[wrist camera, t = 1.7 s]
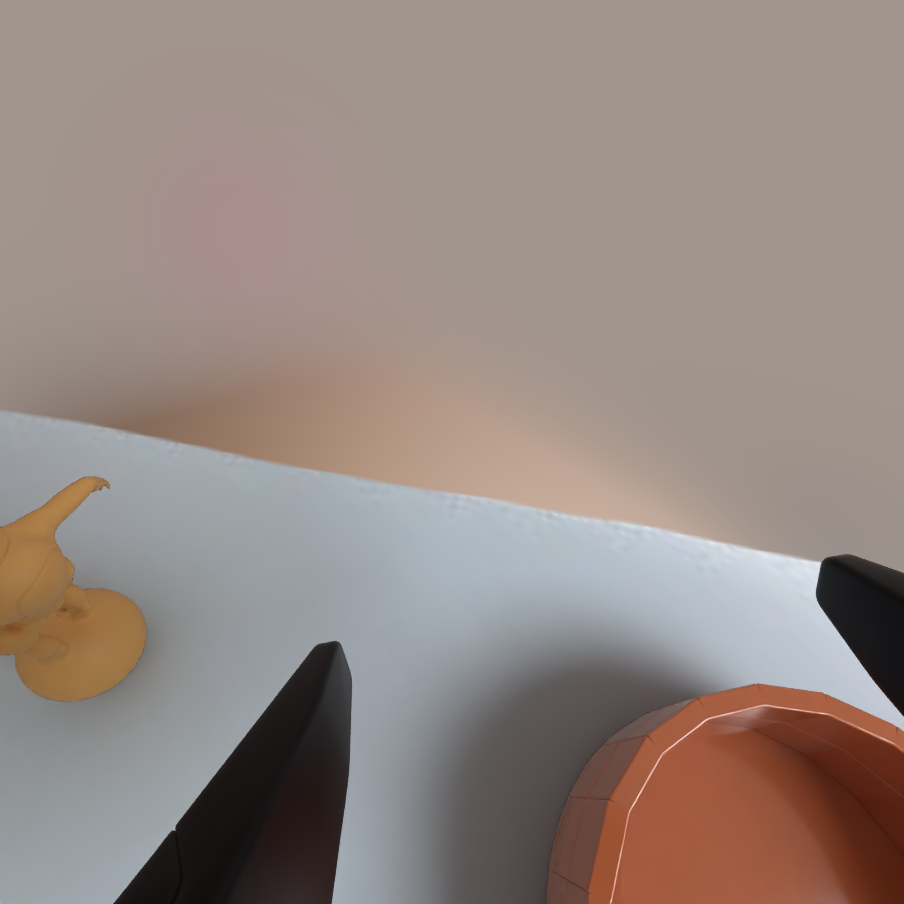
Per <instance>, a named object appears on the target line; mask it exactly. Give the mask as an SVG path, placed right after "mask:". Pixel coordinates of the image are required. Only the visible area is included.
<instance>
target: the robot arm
mask: <svg viewBox="0 0 904 904" xmlns="http://www.w3.org/2000/svg"><path fill="white" fill-rule="evenodd" d="M816 597H817V601H818V603H819V605H820V607H821V608H822V610H823V611H824V612H825V614H826V615H827V617H828V618H829V619H830V621H831V622H832V624H833V625H834V626H835V628H836V629H837V631H838V632H839V633H840V635H841V636H842V638H843V639H844V640H845V642H846V643H847V645H848V646H849V647H850V649H851V650H852V652H853V653H854V654H855V656H856V657H857V659H858V660H859V661H860V663H861V664H862V666H863V667H864V668H865V670H866V671H867V672H868V674H869V675H870V676H871V678H872V679H873V680H874V682H875V683H876V684H877V685H878V687H879V688H880V689H881V690H882V692H883V693H884V694H885V695H886V696H887V698H888V699H889V700H890V701H891V702H892V703H893V705H894V706H895V707H896V708H897V709H898V710H899V712H900V713H901V714H902V715H903V716H904V573H902V572H899V571H896V570H894V569H891V568H888V567H885V566H882V565H879V564H877V563H874V562H871V561H868V560H865V559H862V558H859V557H857V556H853V555H849V554H844V555H838V556H832V557H828V558H825V559H824V560H823V561H822V563H821V567H820V572H819V577H818V583H817V588H816ZM351 702H352V678H351V672H350V669H349V666H348V663H347V660H346V657H345V654H344V651H343V648H342V646H341V644H340V643H339V642H338V641H332V642H327V643H321V644H318V645H316V646H315V647H314V648H313V649H312V651H311V652H310V653H309V655H308V656H307V657H306V658H305V660H304V661H303V662H302V664H301V665H300V666H299V668H298V669H297V670H296V671H295V673H294V674H293V675H292V677H291V678H290V679H289V680H288V682H287V683H286V684H285V686H284V687H283V688H282V689H281V691H280V692H279V693H278V695H277V696H276V697H275V698H274V700H273V701H272V702H271V704H270V705H269V706H268V707H267V709H266V710H265V711H264V713H263V714H262V715H261V716H260V718H259V719H258V720H257V722H256V723H255V724H254V725H253V727H252V728H251V729H250V731H249V732H248V733H247V734H246V736H245V737H244V738H243V740H242V741H241V742H240V743H239V745H238V746H237V747H236V749H235V750H234V751H233V752H232V754H231V755H230V756H229V758H228V759H227V760H226V761H225V763H224V764H223V765H222V767H221V768H220V769H219V770H218V772H217V773H216V774H215V776H214V777H213V778H212V780H211V781H210V782H209V783H208V785H207V786H206V787H205V789H204V790H203V791H202V792H201V794H200V795H199V796H198V798H197V799H196V800H195V801H194V803H193V804H192V805H191V807H190V808H189V809H188V810H187V812H186V813H185V814H184V816H183V817H182V818H181V819H180V821H179V822H178V823H177V825H176V828H175V829H176V831H175V830H174V831H171V832H170V833H169V835H168V836H167V837H166V838H165V840H164V841H163V842H162V844H161V845H160V846H159V847H158V849H157V850H156V851H155V853H154V854H153V855H152V856H151V858H150V859H149V860H148V861H147V863H146V864H145V865H144V866H143V868H142V869H141V870H140V871H139V873H138V874H137V875H136V876H135V878H134V879H133V880H132V881H131V883H130V884H129V885H128V886H127V888H126V889H125V890H124V891H123V892H122V894H121V895H120V896H119V897H118V899H117V900H116V901H115V902H114V903H113V904H332V896H333V889H334V882H335V874H336V867H337V860H338V852H339V845H340V838H341V830H342V823H343V816H344V808H345V801H346V794H347V786H348V777H349V763H350V735H351Z"/></svg>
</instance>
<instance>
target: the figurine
mask: <svg viewBox="0 0 904 904" xmlns="http://www.w3.org/2000/svg"><path fill="white" fill-rule="evenodd" d="M103 486H106V487H107V488H108V489H110V485H109V482H108V481H106V480H105V479H103V478H99V477H83V478H81V479H79V480H77V481H75V482H74V483H72V484H70V485H69V486H67V487H66V488H64V489H63V490H62V491H60V492H59V493H57V494H56V495H55V496H53V497H52V498H51V499H50V500H49V501H48V502H47V503H46V504H44V505H43V506H42V507H40V508H38V509H36V510H34V511H32V512H31V513H29V514H27V515H25V516H23V517H22V518H20V519H18V520H17V521H15V522H13V523H11V524H9V525H6V526H4V527H1V528H0V655H11V654H14V653H15V665H16V670H17V673H18V675H19V677H20V679H21V680H22V682H23V683H24V684H25V686H26V687H27V688H28V689H30V690H31V691H32V692H34V693H35V694H37V695H39V696H41V697H43V698H46V699H50V700H54V701H63V702H70V701H79V700H84V699H88V698H91V697H94V696H97V695H99V694H101V693H103V692H105V691H107V690H109V689H111V688H112V687H114V686H115V685H117V684H118V683H119V682H120V681H122V680H123V679H124V678H125V677H126V676H127V675H128V674H129V673H130V672H131V671H132V669H133V668H134V667H135V665H136V664H137V662H138V661H139V659H140V657H141V655H142V652H143V650H144V646H145V642H146V623H145V620H144V617H143V615H142V613H141V611H140V609H139V608H138V607H137V605H136V604H135V603H134V602H133V601H132V600H130V599H129V598H128V597H126V596H124V595H122V594H120V593H118V592H115V591H111V590H107V589H82V588H80V587H79V586H76V585H73V584H71V582H72V580H73V575H74V570H75V569H74V565H73V564H72V562H71V561H69V560H68V559H67V558H65V557H64V556H63V554H62V552H61V550H60V548H59V546H58V544H57V542H56V540H55V537H54V535H55V531H56V529H57V527H58V526H59V525H60V523H61V522H62V521H63V520H65V519H66V518H67V517H68V516H69V515H70V514H71V513H72V512H73V511H74V510H75V509H76V508H77V507H78V506H79V505H80V504H81V503H82V502H83V501H84V500H85V499H86V498H87V497H88V496H89V494H90V493H92V492H95V491H97V490H98V489H99V490H102V488H103Z"/></svg>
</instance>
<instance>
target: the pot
mask: <svg viewBox="0 0 904 904" xmlns="http://www.w3.org/2000/svg"><path fill="white" fill-rule="evenodd" d="M546 904H904V731H903V730H901V729H900V728H898V727H895V725H893V724H891V723H889V722H887V721H884V720H882V719H880V718H878V717H875V716H873V715H871V714H869V713H867V712H864V711H862V710H860V709H858V708H855V707H853V706H851V705H849V704H847V703H844V702H842V701H840V700H838V699H836V698H833V697H831V696H829V695H827V694H824V693H822V692H814V691H807V690H800V689H793V688H786V687H779V686H772V685H765V684H751V685H747V686H743V687H738V688H734V689H729V690H725V691H720V692H716V693H712V694H707V695H703V696H698V697H695V698H692V699H689V700H686V701H683V702H680V703H677V704H674V705H671V706H668V707H664V708H661V709H658V710H655V711H652V712H649V713H647V714H644V715H643V716H641V717H640V718H638V719H637V720H636V721H634V722H632V723H630V724H628V725H627V726H626V727H624V728H623V729H621V730H620V731H618V732H617V733H616V734H614V735H613V736H612V737H611V738H610V739H609V740H608V741H607V742H605V743H604V744H603V745H602V746H601V747H600V748H599V749H598V750H597V751H596V753H595V754H594V755H593V757H592V758H591V759H590V761H589V762H588V763H587V765H586V766H585V767H584V769H583V770H582V772H581V773H580V775H579V777H578V779H577V781H576V782H575V784H574V786H573V788H572V790H571V792H570V794H569V796H568V799H567V801H566V804H565V806H564V809H563V812H562V814H561V817H560V819H559V823H558V827H557V831H556V835H555V839H554V843H553V847H552V852H551V859H550V866H549V873H548V881H547V903H546Z"/></svg>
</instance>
